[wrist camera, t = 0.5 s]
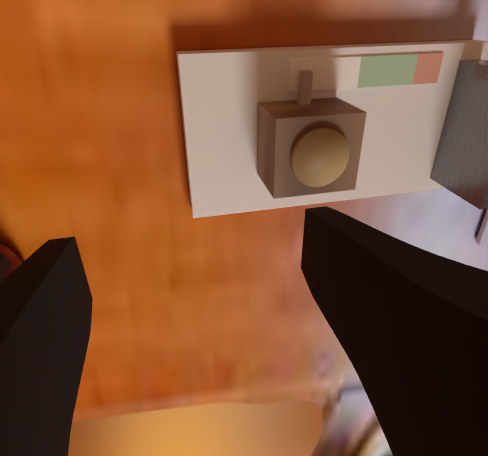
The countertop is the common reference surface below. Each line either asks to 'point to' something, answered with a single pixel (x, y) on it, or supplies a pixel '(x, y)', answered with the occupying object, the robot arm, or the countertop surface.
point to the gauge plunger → (308, 143)
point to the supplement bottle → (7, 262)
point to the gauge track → (323, 86)
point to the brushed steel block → (465, 136)
